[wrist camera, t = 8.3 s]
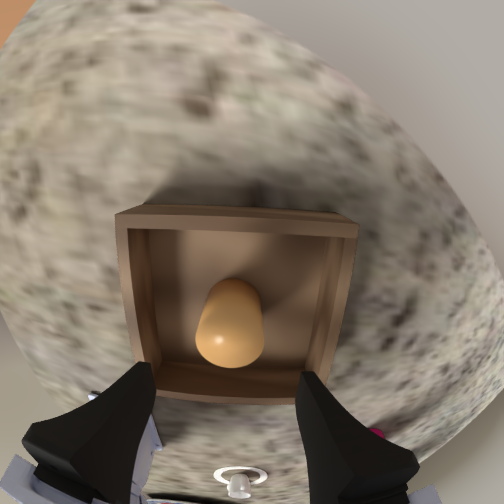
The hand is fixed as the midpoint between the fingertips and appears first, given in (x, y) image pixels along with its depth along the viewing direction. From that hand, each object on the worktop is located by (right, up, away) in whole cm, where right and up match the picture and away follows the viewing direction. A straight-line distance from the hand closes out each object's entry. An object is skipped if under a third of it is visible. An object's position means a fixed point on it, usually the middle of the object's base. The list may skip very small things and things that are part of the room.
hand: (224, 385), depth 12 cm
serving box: (0, +3, +9) cm, 9 cm away
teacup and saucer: (-3, -28, +19) cm, 34 cm away
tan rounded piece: (0, +3, +8) cm, 9 cm away
